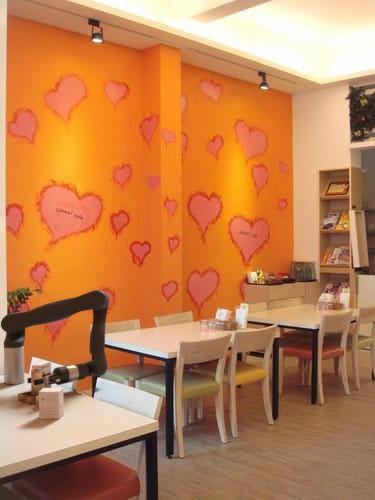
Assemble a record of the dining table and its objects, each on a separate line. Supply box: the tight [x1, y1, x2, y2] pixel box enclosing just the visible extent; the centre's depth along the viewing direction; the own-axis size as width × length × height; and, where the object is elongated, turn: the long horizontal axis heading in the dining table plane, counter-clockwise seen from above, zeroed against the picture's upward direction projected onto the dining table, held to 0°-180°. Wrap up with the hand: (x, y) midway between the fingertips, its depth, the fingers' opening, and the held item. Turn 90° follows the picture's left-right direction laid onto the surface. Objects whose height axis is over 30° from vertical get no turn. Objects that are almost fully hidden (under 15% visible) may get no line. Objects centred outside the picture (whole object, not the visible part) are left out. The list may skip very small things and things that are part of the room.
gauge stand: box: [35, 376, 48, 408], centre depth 229 cm, size 6×6×12 cm
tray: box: [17, 390, 36, 406], centre depth 239 cm, size 11×11×2 cm
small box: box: [38, 387, 65, 420], centre depth 215 cm, size 8×6×10 cm
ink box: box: [31, 361, 52, 388], centre depth 256 cm, size 9×5×12 cm, turn 160°
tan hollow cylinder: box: [30, 368, 43, 397], centre depth 239 cm, size 5×5×11 cm
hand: (31, 381), depth 237 cm, fingers closed on tan hollow cylinder, 4 cm apart
